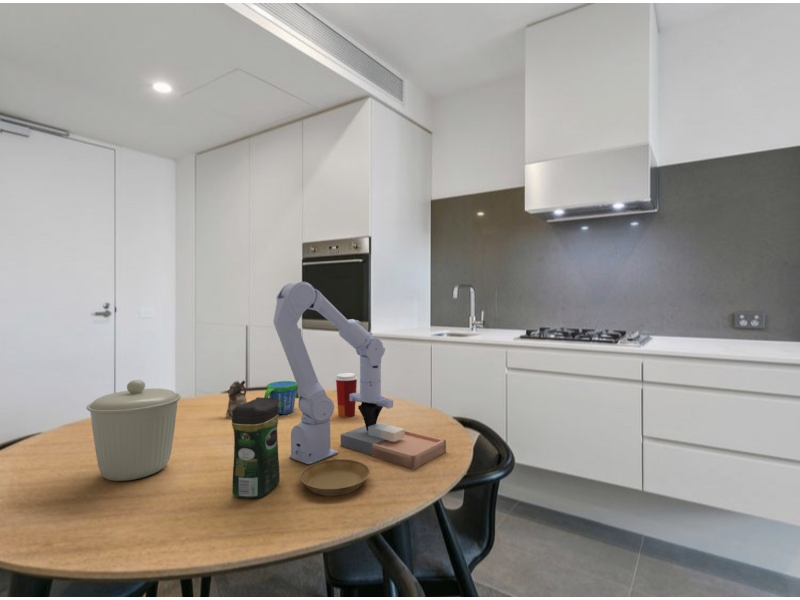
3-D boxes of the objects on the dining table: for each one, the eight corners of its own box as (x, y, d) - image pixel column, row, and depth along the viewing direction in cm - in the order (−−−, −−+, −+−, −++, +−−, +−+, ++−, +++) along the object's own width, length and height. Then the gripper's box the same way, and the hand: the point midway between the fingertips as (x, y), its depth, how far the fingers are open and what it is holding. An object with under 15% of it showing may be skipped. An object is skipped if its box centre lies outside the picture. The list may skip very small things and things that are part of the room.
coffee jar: (252, 478, 89) (251, 393, 89) (285, 480, 87) (284, 395, 87) (224, 499, 79) (224, 404, 79) (260, 502, 77) (260, 406, 78)
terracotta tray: (413, 469, 93) (413, 456, 93) (372, 456, 101) (372, 444, 101) (445, 451, 104) (445, 439, 104) (406, 441, 112) (405, 430, 112)
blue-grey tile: (380, 438, 105) (380, 429, 105) (368, 434, 108) (368, 426, 108) (391, 433, 109) (391, 425, 109) (379, 430, 112) (379, 422, 112)
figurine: (227, 413, 141) (227, 379, 141) (248, 412, 143) (248, 378, 143) (224, 419, 134) (224, 383, 134) (247, 417, 136) (247, 382, 136)
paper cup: (359, 412, 141) (359, 372, 141) (355, 418, 134) (355, 376, 134) (338, 412, 142) (337, 372, 142) (332, 418, 134) (332, 376, 134)
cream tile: (393, 442, 102) (394, 433, 102) (380, 438, 105) (380, 429, 105) (404, 437, 106) (404, 429, 106) (391, 433, 109) (391, 425, 109)
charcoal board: (373, 455, 101) (373, 443, 101) (340, 445, 108) (340, 434, 109) (404, 441, 111) (404, 430, 111) (372, 433, 119) (372, 422, 119)
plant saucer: (384, 484, 85) (384, 472, 85) (325, 509, 75) (325, 495, 75) (343, 465, 96) (343, 454, 96) (287, 484, 86) (287, 472, 86)
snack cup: (273, 420, 133) (273, 389, 133) (254, 415, 139) (254, 385, 139) (309, 409, 146) (309, 381, 146) (290, 405, 152) (290, 378, 152)
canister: (102, 462, 97) (102, 376, 98) (186, 452, 104) (185, 371, 104) (71, 496, 81) (71, 391, 81) (173, 481, 87) (173, 384, 87)
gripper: (400, 381, 109) (400, 431, 109) (361, 376, 118) (361, 422, 118) (383, 386, 104) (383, 438, 104) (344, 379, 113) (344, 428, 113)
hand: (370, 430), depth 110 cm, fingers closed
